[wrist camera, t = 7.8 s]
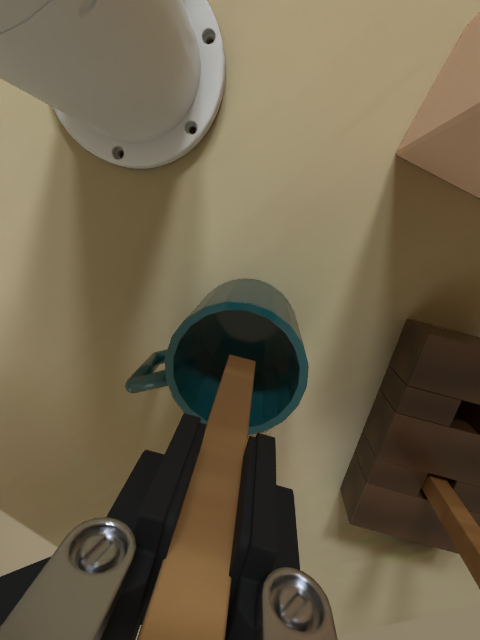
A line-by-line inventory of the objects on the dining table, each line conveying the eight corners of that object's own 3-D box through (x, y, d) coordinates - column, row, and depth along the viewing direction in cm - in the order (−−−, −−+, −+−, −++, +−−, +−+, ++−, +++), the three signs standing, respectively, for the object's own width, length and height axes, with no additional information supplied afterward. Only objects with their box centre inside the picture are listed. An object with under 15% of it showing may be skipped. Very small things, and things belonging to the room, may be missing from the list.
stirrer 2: (411, 447, 31) (508, 599, 18) (427, 451, 31) (535, 607, 18) (405, 460, 31) (496, 619, 19) (421, 465, 31) (523, 626, 19)
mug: (282, 266, 28) (288, 285, 19) (306, 363, 30) (322, 420, 21) (143, 304, 29) (90, 337, 21) (174, 393, 31) (137, 458, 23)
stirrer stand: (406, 318, 28) (428, 332, 24) (534, 352, 28) (577, 372, 24) (339, 488, 32) (349, 524, 28) (450, 518, 32) (475, 558, 28)
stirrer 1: (229, 353, 18) (134, 647, 6) (256, 360, 18) (222, 672, 5) (222, 378, 18) (119, 706, 6) (249, 385, 18) (202, 730, 6)
